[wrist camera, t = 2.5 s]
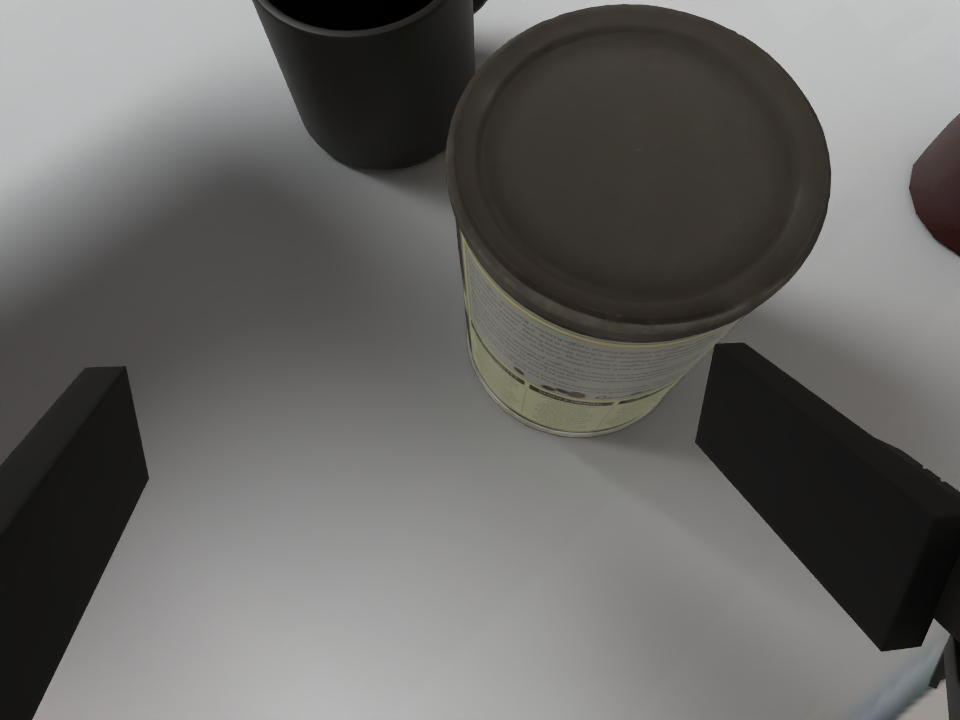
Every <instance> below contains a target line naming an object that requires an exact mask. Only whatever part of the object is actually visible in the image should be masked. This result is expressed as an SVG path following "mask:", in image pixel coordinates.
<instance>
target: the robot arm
mask: <svg viewBox="0 0 960 720" xmlns="http://www.w3.org/2000/svg"><path fill="white" fill-rule="evenodd" d="M695 443H696V444H697V445H698V446H699V447H700V448H701V449H702V451H703V452H704V453H705V454H706V455H707V456H708V457H709V458H710V460H711V461H712V462H713V463H714V464H715V465H716V466H717V467H718V469H719V470H720V471H721V472H722V473H723V474H724V475H725V476H726V478H727V479H728V480H729V481H730V482H731V483H732V484H733V485H734V487H735V488H736V489H737V490H738V491H739V492H740V493H741V494H742V496H743V497H744V498H745V499H746V500H747V501H748V502H749V503H750V505H751V506H752V507H753V508H754V509H755V510H756V511H757V512H758V514H759V515H760V516H761V517H762V518H763V519H764V520H765V521H766V523H767V524H768V525H769V526H770V527H771V528H772V529H773V530H774V532H775V533H776V534H777V535H778V536H779V537H780V538H781V539H782V541H783V542H784V543H785V544H786V545H787V546H788V547H789V548H790V550H791V551H792V552H793V553H794V554H795V555H796V556H797V557H798V559H799V560H800V561H801V562H802V563H803V564H804V565H805V566H806V568H807V569H808V570H809V571H810V572H811V573H812V574H813V575H814V576H815V578H816V579H817V580H818V581H819V582H820V583H821V584H822V585H823V587H824V588H825V589H826V590H827V591H828V592H829V593H830V594H831V596H832V597H833V598H834V599H835V600H836V601H837V602H838V603H839V605H840V606H841V607H842V608H843V609H844V610H845V611H846V612H847V614H848V615H849V616H850V617H851V618H852V619H853V620H854V621H855V623H856V624H857V625H858V626H859V627H860V628H861V629H862V630H863V632H864V633H865V634H866V635H867V636H868V637H869V638H870V639H871V641H872V642H873V643H874V644H875V645H876V646H877V647H878V648H879V650H880V651H881V652H883V651H890V650H898V649H905V648H913V647H920V646H922V643H923V641H924V639H925V636H926V634H927V632H928V630H929V627H930V625H931V623H932V620H933V618H934V619H935V620H936V621H937V622H938V623H939V624H940V625H941V626H943V627H944V628H945V629H946V630H947V631H948V632H949V633H950V636H949V639H948V641H947V643H946V645H945V647H944V650H943V652H942V654H941V656H940V658H939V661H938V663H937V665H936V667H935V669H934V672H933V674H932V676H931V679H930V682H929V686H930V687H933V688H935V689H936V688H937V686H938V684H939V682H940V680H942V679H945V678H946V688H947V699H948V711H949V720H960V492H959V491H958V490H956V489H955V488H953V487H952V486H951V485H949V484H948V483H947V482H941V480H940V479H941V478H940V477H938V476H937V475H935V474H934V473H933V472H931V471H930V470H928V469H923V465H921V464H920V463H919V462H917V461H916V460H914V459H913V458H912V457H910V456H909V455H907V454H906V453H905V452H903V451H902V450H900V449H898V448H896V447H894V446H891V445H889V444H887V443H885V442H883V441H881V440H879V439H876V438H874V437H873V436H871V435H870V434H869V433H867V432H866V431H865V430H863V429H862V428H860V427H859V426H858V425H856V424H855V423H854V422H852V421H851V420H849V419H848V418H847V417H845V416H844V415H843V414H841V413H840V412H838V411H837V410H836V409H834V408H833V407H832V406H830V405H829V404H827V403H826V402H825V401H823V400H822V399H821V398H819V397H818V396H816V395H815V394H814V393H812V392H811V391H810V390H808V389H807V388H806V387H804V386H803V385H801V384H800V383H799V382H797V381H796V380H795V379H793V378H792V377H790V376H789V375H788V374H786V373H785V372H784V371H782V370H781V369H779V368H778V367H777V366H775V365H774V364H773V363H771V362H770V361H768V360H767V359H766V358H764V357H763V356H762V355H760V354H759V353H757V352H756V351H755V350H753V349H752V348H751V347H749V346H748V345H746V344H745V343H724V344H715V346H714V351H713V356H712V361H711V366H710V371H709V376H708V381H707V385H706V390H705V395H704V400H703V405H702V410H701V415H700V420H699V425H698V430H697V435H696V440H695ZM148 479H149V476H148V471H147V466H146V461H145V457H144V452H143V447H142V442H141V437H140V432H139V428H138V423H137V418H136V413H135V408H134V404H133V399H132V394H131V389H130V384H129V379H128V375H127V370H126V366H118V367H92V368H84V370H83V371H82V372H81V373H80V374H79V375H78V377H77V378H76V379H75V380H74V381H73V382H72V384H71V385H70V386H69V387H68V388H67V389H66V390H65V392H64V393H63V394H62V395H61V396H60V397H59V399H58V400H57V401H56V402H55V403H54V404H53V406H52V407H51V408H50V409H49V410H48V411H47V412H46V414H45V415H44V416H43V417H42V418H41V419H40V421H39V422H38V423H37V424H36V425H35V426H34V428H33V429H32V430H31V431H30V432H29V433H28V434H27V436H26V437H25V438H24V439H23V440H22V441H21V443H20V444H19V445H18V446H17V447H16V448H15V450H14V451H13V452H12V453H11V454H10V455H9V457H8V458H7V459H6V460H5V461H4V462H3V463H2V465H1V466H0V720H32V719H33V717H34V715H35V713H36V710H37V708H38V706H39V704H40V702H41V700H42V698H43V696H44V694H45V692H46V690H47V688H48V686H49V684H50V682H51V680H52V677H53V675H54V673H55V671H56V669H57V667H58V665H59V663H60V661H61V659H62V657H63V655H64V653H65V651H66V649H67V646H68V644H69V642H70V640H71V638H72V636H73V634H74V632H75V630H76V628H77V626H78V624H79V622H80V620H81V618H82V616H83V613H84V611H85V609H86V607H87V605H88V603H89V601H90V599H91V597H92V595H93V593H94V591H95V589H96V587H97V585H98V583H99V580H100V578H101V576H102V574H103V572H104V570H105V568H106V566H107V564H108V562H109V560H110V558H111V556H112V554H113V552H114V549H115V547H116V545H117V543H118V541H119V539H120V537H121V535H122V533H123V531H124V529H125V527H126V525H127V523H128V521H129V519H130V516H131V514H132V512H133V510H134V508H135V506H136V504H137V502H138V500H139V498H140V496H141V494H142V492H143V490H144V488H145V486H146V483H147V481H148Z"/></svg>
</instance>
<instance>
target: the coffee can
mask: <svg viewBox="0 0 960 720" xmlns="http://www.w3.org/2000/svg"><path fill="white" fill-rule="evenodd" d="M446 177H447V184H448V190H449V196H450V200H451V205H452V209H453V212H454V215H455V220H456V227H457V238H458V249H459V256H460V264H461V272H462V281H463V291H464V301H465V314H466V322H467V333H466V334H467V345H468V350H469V355H470V359H471V363H472V366H473V368H474V371H475V373H476V375H477V377H478V379H479V380H480V382H481V384H482V385H483V387H484V388H485V390H486V391H487V392H488V394H489V395H490V396H491V397H492V398H493V400H494V401H495V402H496V403H497V404H498V405H499V406H500V407H502V408H503V409H504V410H505V411H506V412H507V413H509V414H510V415H511V416H513V417H514V418H516V419H517V420H519V421H521V422H522V423H524V424H525V425H527V426H530V427H532V428H534V429H537V430H541V431H544V432H547V433H550V434H554V435H560V436H568V437H589V436H597V435H603V434H607V433H611V432H616V431H618V430H621V429H623V428H624V427H626V426H628V425H630V424H633V423H635V422H636V421H638V420H639V419H641V418H642V417H644V416H645V415H647V414H648V413H649V412H650V411H651V410H653V409H654V408H655V407H656V406H657V404H658V403H659V402H660V401H661V400H662V399H663V397H664V396H665V395H666V393H667V392H668V391H669V390H670V389H671V388H672V387H673V386H674V385H675V384H676V383H677V382H678V381H679V380H680V379H682V378H683V376H684V375H685V374H686V373H687V372H688V371H689V370H690V369H691V368H692V367H693V366H694V365H695V364H696V363H697V362H698V361H699V360H700V359H701V358H702V357H704V356H705V355H706V354H707V353H708V352H709V351H710V350H711V349H712V348H713V347H714V346H715V344H717V343H718V342H719V341H720V340H721V339H722V338H723V337H724V336H725V335H726V334H727V333H728V332H729V331H730V330H731V329H732V328H733V327H735V325H736V324H737V323H738V322H739V321H740V320H741V319H742V318H744V316H745V315H747V314H748V313H750V312H751V311H752V310H754V309H755V308H757V307H758V306H759V305H761V304H762V303H764V302H765V301H767V300H768V299H769V298H770V297H771V296H773V295H774V294H775V293H776V292H777V291H778V290H780V289H781V288H782V287H783V286H784V285H785V284H786V283H787V282H788V281H789V280H790V279H791V278H792V277H793V276H794V275H795V273H796V272H797V271H798V270H799V268H800V267H801V266H802V264H803V263H804V261H805V260H806V258H807V257H808V256H809V254H810V253H811V251H812V249H813V247H814V245H815V243H816V241H817V239H818V236H819V234H820V232H821V229H822V226H823V223H824V220H825V217H826V214H827V208H828V202H829V198H830V186H831V168H830V160H829V152H828V148H827V144H826V140H825V136H824V132H823V129H822V127H821V125H820V122H819V120H818V118H817V115H816V113H815V112H814V110H813V108H812V106H811V105H810V103H809V101H808V100H807V98H806V97H805V95H804V94H803V92H802V91H801V89H800V88H799V87H798V85H797V84H796V83H795V81H794V80H793V79H792V78H791V76H790V75H789V74H788V73H787V72H786V71H785V70H784V69H783V67H782V66H781V65H779V64H778V63H777V62H776V61H775V60H774V59H773V58H772V57H771V56H770V55H769V54H768V53H766V52H765V51H764V50H762V49H761V48H760V47H758V46H757V45H756V44H754V43H753V42H751V41H750V40H748V39H747V38H745V37H744V36H742V35H739V34H737V33H736V32H735V31H733V30H730V29H728V28H726V27H724V26H721V25H719V24H717V23H715V22H713V21H710V20H707V19H705V18H702V17H698V16H695V15H692V14H689V13H686V12H681V11H677V10H673V9H668V8H663V7H658V6H649V5H629V4H621V5H605V6H599V7H591V8H586V9H581V10H577V11H573V12H569V13H565V14H562V15H559V16H557V17H555V18H553V19H549V20H546V21H543V22H541V23H539V24H537V25H535V26H533V27H531V28H529V29H527V30H526V31H524V32H522V33H520V34H519V35H517V36H516V37H514V38H513V39H511V40H510V41H508V42H507V43H506V44H504V45H503V46H502V47H501V48H499V49H498V50H497V51H496V52H495V53H494V54H493V55H492V56H491V57H490V58H489V59H488V60H487V61H486V62H485V63H484V64H483V66H482V67H481V68H480V69H479V70H478V71H477V72H476V74H475V75H474V76H473V77H472V79H471V80H470V81H469V83H468V85H467V87H466V88H465V90H464V92H463V94H462V96H461V98H460V100H459V102H458V104H457V106H456V109H455V112H454V115H453V118H452V121H451V125H450V129H449V134H448V139H447V146H446Z"/></svg>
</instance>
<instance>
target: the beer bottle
mask: <svg viewBox="0 0 960 720" xmlns="http://www.w3.org/2000/svg"><path fill="white" fill-rule="evenodd" d="M909 190H910V193H911V197H912V200H913V204H914V207H915V211H916V214H917V215H918V217H919V218H920V219H921V220H922V222H923V223H924V224H925V226H926V227H927V228H928V230H929V231H930V232H931V233H932V235H933V236H934V237H935V238H936V239H938V240H939V241H941V242H942V243H944V244H945V245H947V246H948V247H950V248H951V249H953V250H954V251H956V252H957V253H959V254H960V114H959V115H958V116H957V117H956V118H955V119H953V120H952V121H951V122H950V123H949V124H948V125H947V127H946V128H945V129H944V130H943V131H942V132H941V133H940V134H939V135H938V137H937V138H936V139H935V140H934V141H933V142H932V143H931V144H930V145H929V147H928V148H927V149H926V150H925V151H924V153H923V154H922V155H921V156H920V157H919V159H918V160H917V161H916V162H915V164H914V165H913V170H912V175H911V181H910V186H909Z"/></svg>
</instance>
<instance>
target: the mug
mask: <svg viewBox="0 0 960 720" xmlns="http://www.w3.org/2000/svg"><path fill="white" fill-rule="evenodd" d="M252 1H253V3H254V6H255V8H256V10H257V13H258V15H259V18H260V20H261V22H262V25H263V27H264V30H265V32H266V34H267V37H268V39H269V42H270V44H271V46H272V49H273V51H274V54H275V56H276V58H277V61H278V63H279V66H280V68H281V71H282V73H283V75H284V78H285V80H286V83H287V85H288V87H289V90H290V92H291V95H292V97H293V99H294V102H295V104H296V107H297V109H298V111H299V114H300V116H301V119H302V121H303V123H304V125H305V127H306V129H307V131H308V132H309V134H310V136H311V137H312V138H313V139H314V140H315V141H316V142H317V143H318V144H319V145H320V146H321V147H322V148H323V149H325V150H326V151H327V152H328V153H330V154H331V155H333V156H335V157H337V158H338V159H340V160H342V161H344V162H347V163H350V164H352V165H355V166H359V167H364V168H369V169H381V170H384V169H397V168H403V167H408V166H412V165H415V164H417V163H420V162H423V161H425V160H427V159H429V158H431V157H433V156H435V155H436V154H438V153H439V152H441V151H442V150H444V149H445V148H446V146H447V139H448V134H449V129H450V125H451V121H452V118H453V115H454V112H455V109H456V106H457V104H458V102H459V100H460V98H461V96H462V94H463V92H464V90H465V88H466V87H467V85H468V83H469V81H470V80H471V79H472V77H473V76H474V75H475V55H474V19H473V14H475V13H476V12H477V11H478V10H479V9H480V8H481V7H482V6H483V5H484V4H485V3H486V1H487V0H252Z"/></svg>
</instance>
